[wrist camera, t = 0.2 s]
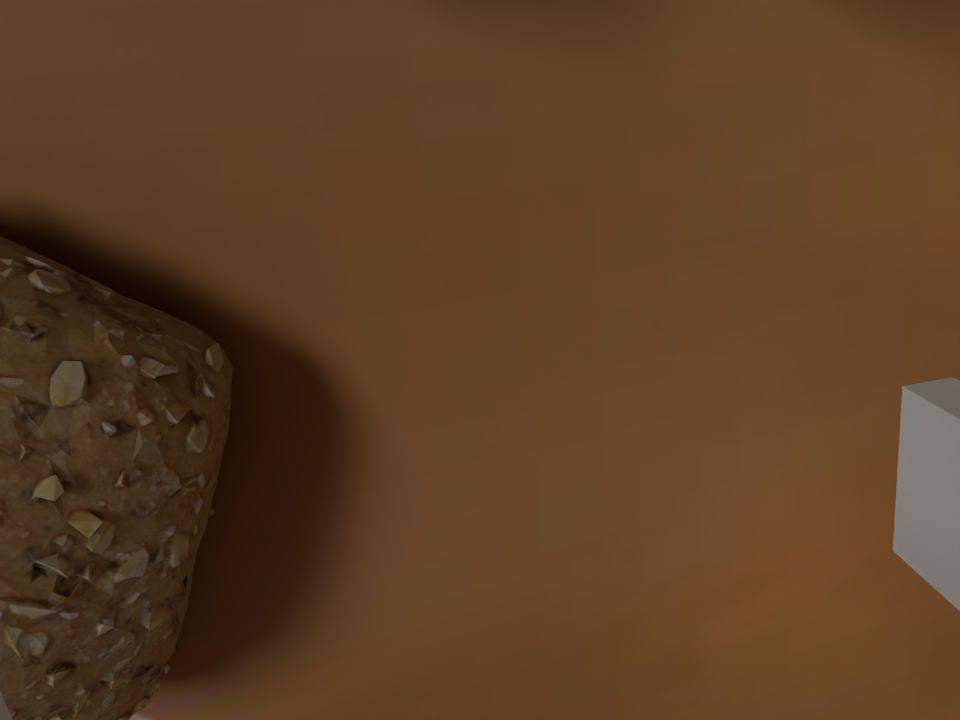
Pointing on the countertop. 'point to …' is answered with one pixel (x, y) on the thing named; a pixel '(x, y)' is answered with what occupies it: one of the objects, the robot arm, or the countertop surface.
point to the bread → (98, 487)
